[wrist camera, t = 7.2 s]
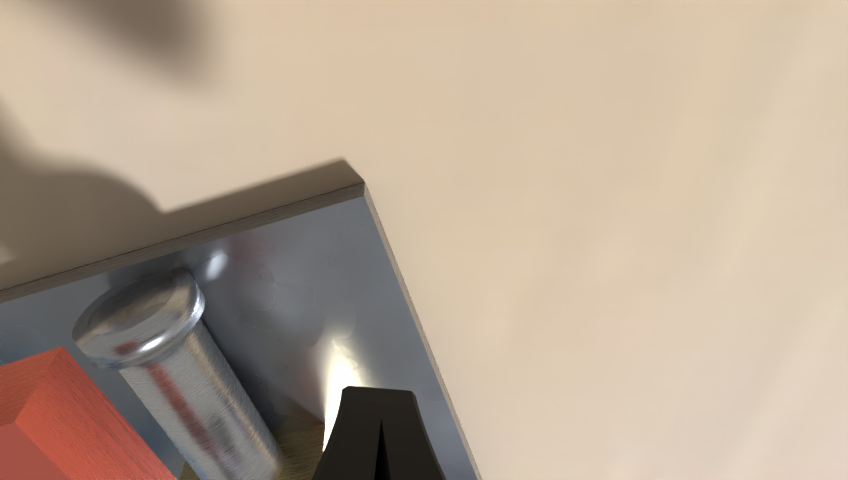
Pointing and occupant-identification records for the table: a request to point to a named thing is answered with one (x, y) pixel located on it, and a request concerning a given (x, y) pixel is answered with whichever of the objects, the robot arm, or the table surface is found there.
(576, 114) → the table surface
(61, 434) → the lever
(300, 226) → the grey machine base
